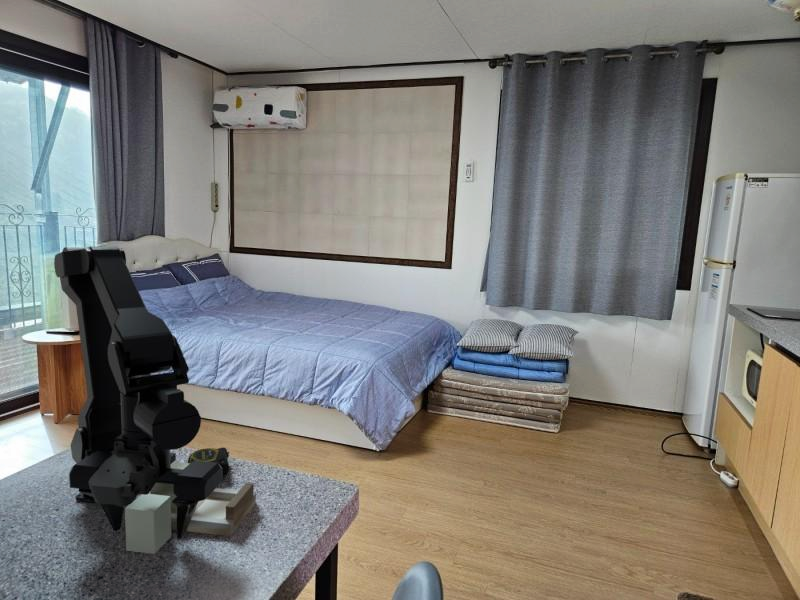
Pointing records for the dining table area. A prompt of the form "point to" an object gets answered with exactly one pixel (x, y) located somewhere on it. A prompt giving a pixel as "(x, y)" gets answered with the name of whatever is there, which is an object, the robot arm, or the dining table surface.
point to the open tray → (213, 507)
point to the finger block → (148, 523)
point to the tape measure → (212, 457)
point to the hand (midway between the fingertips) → (149, 533)
